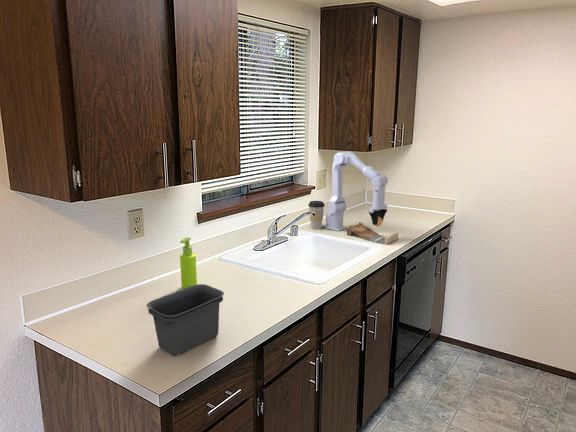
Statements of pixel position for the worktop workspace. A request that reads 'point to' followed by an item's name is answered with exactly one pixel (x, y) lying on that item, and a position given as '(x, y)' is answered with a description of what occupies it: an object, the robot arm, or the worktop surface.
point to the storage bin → (186, 317)
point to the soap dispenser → (188, 265)
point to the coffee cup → (316, 213)
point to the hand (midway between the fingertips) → (377, 223)
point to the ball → (379, 221)
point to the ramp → (361, 231)
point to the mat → (383, 238)
